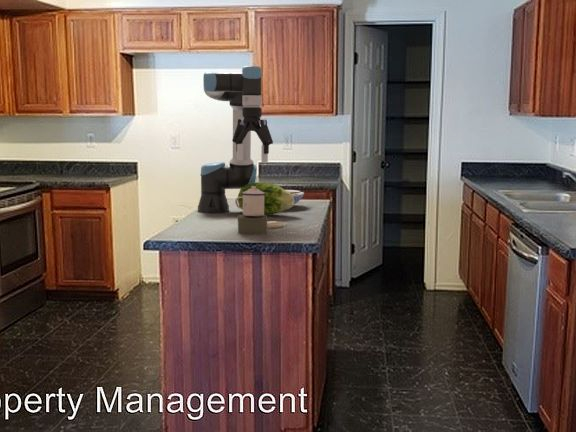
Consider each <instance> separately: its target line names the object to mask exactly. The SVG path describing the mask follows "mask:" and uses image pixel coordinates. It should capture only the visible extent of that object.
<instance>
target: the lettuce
mask: <svg viewBox="0 0 576 432" xmlns="http://www.w3.org/2000/svg"><path fill="white" fill-rule="evenodd" d="M251 186H256V189H259V190H260V191H262V192H264V193H265V195H264V215H267V216H271V215H277V214H279V213H281V212H284V211H287V210H289V209H291V208H292V207H294V206H295V204H294V196H293V195H292V194H291V193H290V192H288V191H286V190H287V189H284V187H282V186H280V185H277V184H274V183H268V182H255V183H251V184H247V185H245V186H244V187H242V188H241V189H239V191H238V196H237V197H240V196H241V197H243V195H242V194H243V192H245V191H247V190H248V189H252V188H251ZM237 203H238V205H239V206H240V207H243V198H239V199H238V200H237ZM241 210H242V211H243V209H241Z"/></svg>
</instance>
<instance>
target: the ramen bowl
mask: <svg viewBox="0 0 576 432" xmlns="http://www.w3.org/2000/svg"><path fill="white" fill-rule="evenodd" d="M285 190H286V191H288V192H290V193H291V194H292V195H293V196H294V205H296V204H298V203H299V202H300V200H301V199H302V198H303V196H305V192H307V190H304V191H303V190H295V189H285Z"/></svg>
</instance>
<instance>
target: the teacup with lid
mask: <svg viewBox="0 0 576 432" xmlns="http://www.w3.org/2000/svg"><path fill="white" fill-rule="evenodd" d="M251 188H252V189H248V190H247V191H245V192H243V194H242V195H243V197H241V196H240V197H238V196H237V197H236V198H235V202H234V203H235V206H236V207H237V209H241V210H242V209H243V210H242V214H243V215H245V216H263V215H264V195H265V193H264V192H262V191H260V190H259V189H256V186H251ZM239 198H243V207H240V206H239V203H238V199H239Z"/></svg>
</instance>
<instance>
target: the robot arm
mask: <svg viewBox="0 0 576 432" xmlns="http://www.w3.org/2000/svg"><path fill="white" fill-rule="evenodd" d="M241 70H242V71H241V72H214V71H211V72H209V71H207V72H204V73H203V91H204V94H205V95H206V96H207V97H209V98H210V99H213V100H216V101H218V102H219V101H220V102H229V106H230V107H231V109H232V140H231V141H232V158H231V159H230V160H229V164H226V163H225V161H215V162H209V163H205V164H203V165H202V166H201V167H200V174H199V176H200V194H201V195H200V198H199V201H198V205H197V211H198V213H199V212H200V213H207V214H208V213H209V214H215V213H216V214H217V213H218V214H219V213H220V214H221V213H225V212H226V213H227V212H229V211H230V205H229V202H228V198H227V196H226V190H240V189H241V188H242V187H244V186H245V185H247V184H251V183H256V179H257V170H258V168H257V165H256V164H254V161H253V159H251V158H252V157H251V155H252V154H251V144H252V143H251V142H252V141H251V140H252V137H251V136H252V134H251V133H252V132H255V133H256V135H257V136H258V138H259V140H260V142H261V143H262V144H261V146H260V147H261V153H260V155H261V163H264V164H265V163H268V162H269V160H268V159H269V157H268V156H269V153H270V151H269V150H270V145H273V143H274V142H273V141H274V140H273V138H272V134H271V132H270V129H269V127H268V121H267V119H261V117H262V116H263V111H262V109H263V108H262V106H263V105H262V104H263V103H262V101H263V99H262V84H263V83H262V77H263V74H262V67H260V66H257V65H245V66H243V67H242V69H241Z"/></svg>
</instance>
